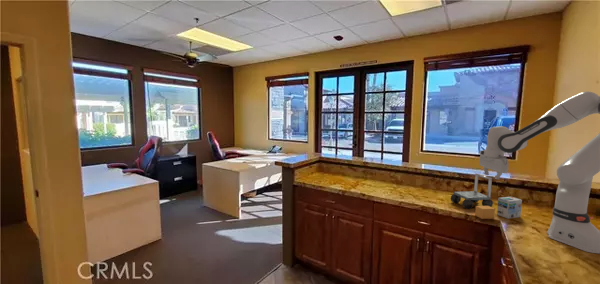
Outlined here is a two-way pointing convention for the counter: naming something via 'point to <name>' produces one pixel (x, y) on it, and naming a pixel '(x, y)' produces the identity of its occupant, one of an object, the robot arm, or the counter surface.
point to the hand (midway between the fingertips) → (491, 176)
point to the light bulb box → (509, 207)
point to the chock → (484, 212)
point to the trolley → (474, 195)
